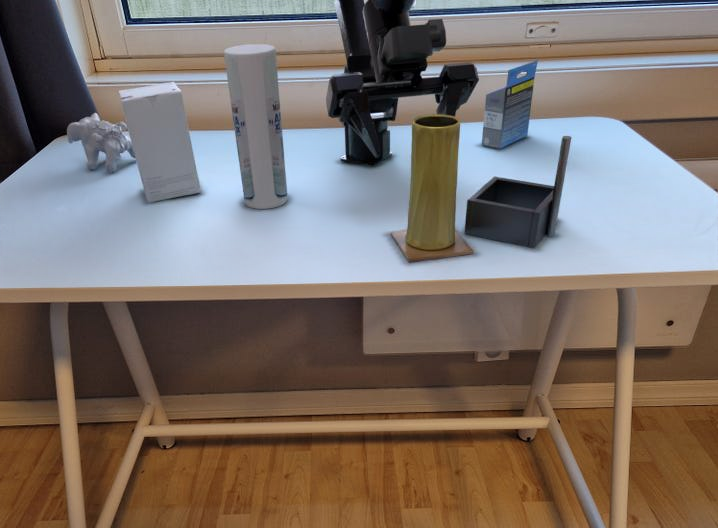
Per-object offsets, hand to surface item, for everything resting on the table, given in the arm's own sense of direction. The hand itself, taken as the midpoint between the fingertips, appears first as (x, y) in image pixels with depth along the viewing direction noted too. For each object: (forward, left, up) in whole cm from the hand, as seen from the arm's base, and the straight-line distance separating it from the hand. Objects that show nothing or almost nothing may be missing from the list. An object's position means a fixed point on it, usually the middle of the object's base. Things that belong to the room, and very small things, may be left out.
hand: (413, 152), depth 79 cm
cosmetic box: (-36, -8, -9) cm, 38 cm away
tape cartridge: (0, +36, -9) cm, 37 cm away
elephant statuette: (-56, -4, -9) cm, 57 cm away
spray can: (-21, -4, -9) cm, 24 cm away
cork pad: (+6, -6, -9) cm, 12 cm away
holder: (+13, +3, -9) cm, 16 cm away
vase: (+5, -6, -9) cm, 12 cm away
